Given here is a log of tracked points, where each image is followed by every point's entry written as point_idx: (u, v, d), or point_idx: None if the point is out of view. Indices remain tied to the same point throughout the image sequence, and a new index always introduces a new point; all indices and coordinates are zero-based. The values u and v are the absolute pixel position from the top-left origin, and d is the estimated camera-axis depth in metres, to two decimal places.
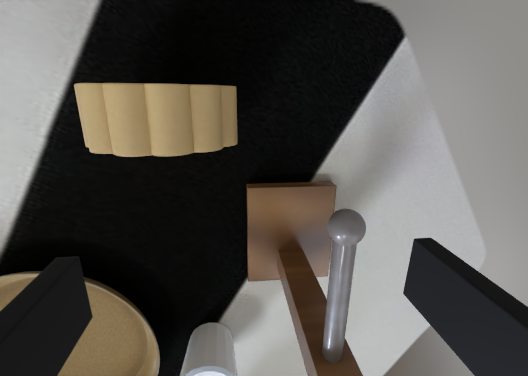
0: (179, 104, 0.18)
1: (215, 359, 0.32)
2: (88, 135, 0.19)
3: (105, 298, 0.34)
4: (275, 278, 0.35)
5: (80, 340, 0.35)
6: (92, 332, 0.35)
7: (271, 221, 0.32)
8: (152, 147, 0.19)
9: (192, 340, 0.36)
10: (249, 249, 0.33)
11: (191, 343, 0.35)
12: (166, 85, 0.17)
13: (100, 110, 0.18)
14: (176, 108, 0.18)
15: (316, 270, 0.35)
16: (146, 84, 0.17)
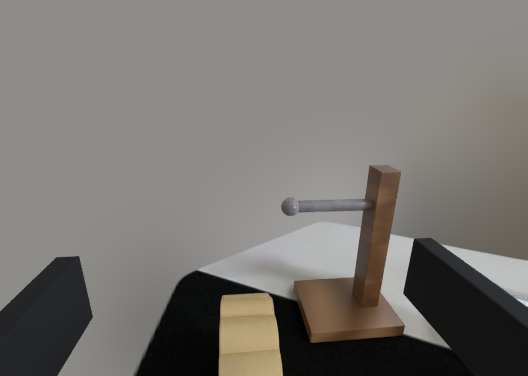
0: (235, 299, 0.25)
1: None
2: (266, 374, 0.20)
3: None
4: (389, 306, 0.39)
5: None
6: None
7: (336, 313, 0.37)
8: (267, 312, 0.24)
9: None
10: (370, 326, 0.35)
11: None
12: (222, 302, 0.25)
13: (241, 355, 0.21)
14: (237, 299, 0.25)
15: None
16: (221, 315, 0.24)
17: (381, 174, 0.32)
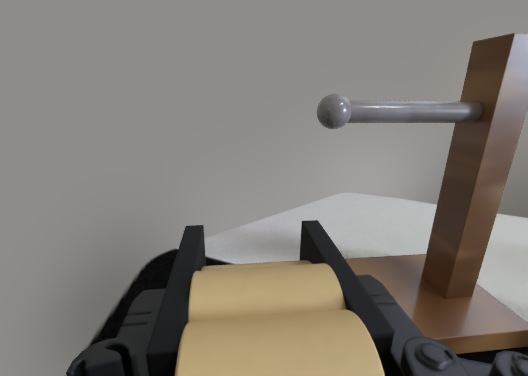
0: None
1: None
2: None
3: None
4: (491, 297, 0.23)
5: None
6: None
7: (408, 310, 0.21)
8: (327, 302, 0.08)
9: None
10: (476, 332, 0.20)
11: None
12: (196, 274, 0.09)
13: None
14: (239, 268, 0.10)
15: None
16: (190, 310, 0.08)
17: (513, 38, 0.17)
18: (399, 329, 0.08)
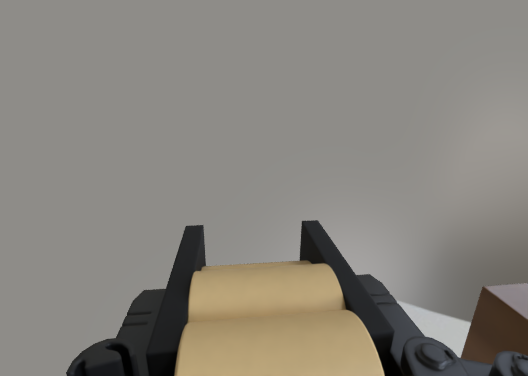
0: None
1: None
2: None
3: None
4: None
5: None
6: None
7: None
8: (327, 302, 0.08)
9: None
10: None
11: None
12: (195, 274, 0.09)
13: None
14: (238, 268, 0.10)
15: None
16: (189, 310, 0.08)
17: None
18: (398, 329, 0.08)
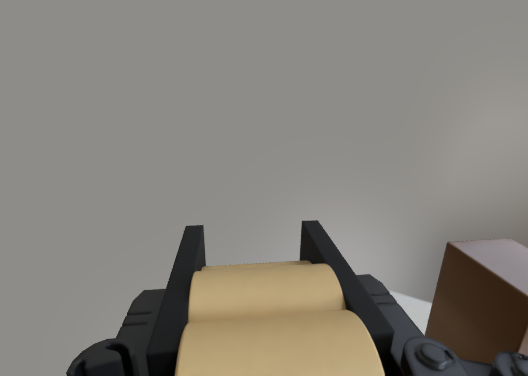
0: None
1: None
2: None
3: None
4: None
5: None
6: None
7: None
8: (327, 302, 0.08)
9: None
10: None
11: None
12: (195, 275, 0.09)
13: None
14: (239, 268, 0.10)
15: None
16: (189, 310, 0.08)
17: None
18: (398, 329, 0.08)
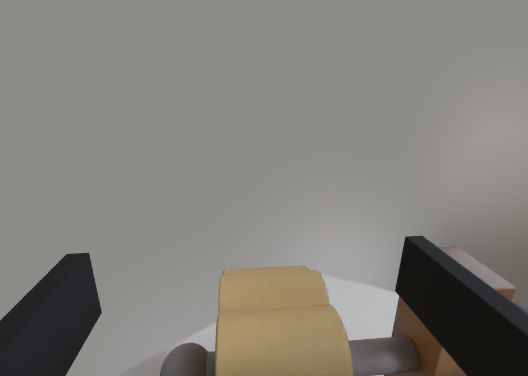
0: None
1: None
2: None
3: None
4: None
5: None
6: None
7: None
8: (316, 299, 0.12)
9: None
10: None
11: None
12: (222, 278, 0.12)
13: None
14: (252, 273, 0.13)
15: None
16: (220, 303, 0.11)
17: None
18: None
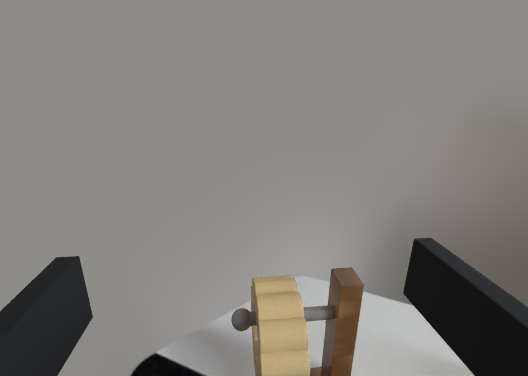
0: (264, 279, 0.31)
1: None
2: (295, 334, 0.26)
3: None
4: None
5: None
6: None
7: None
8: (292, 289, 0.30)
9: None
10: None
11: None
12: (255, 281, 0.31)
13: (275, 321, 0.27)
14: (267, 279, 0.31)
15: None
16: (255, 291, 0.30)
17: (341, 288, 0.29)
18: None
